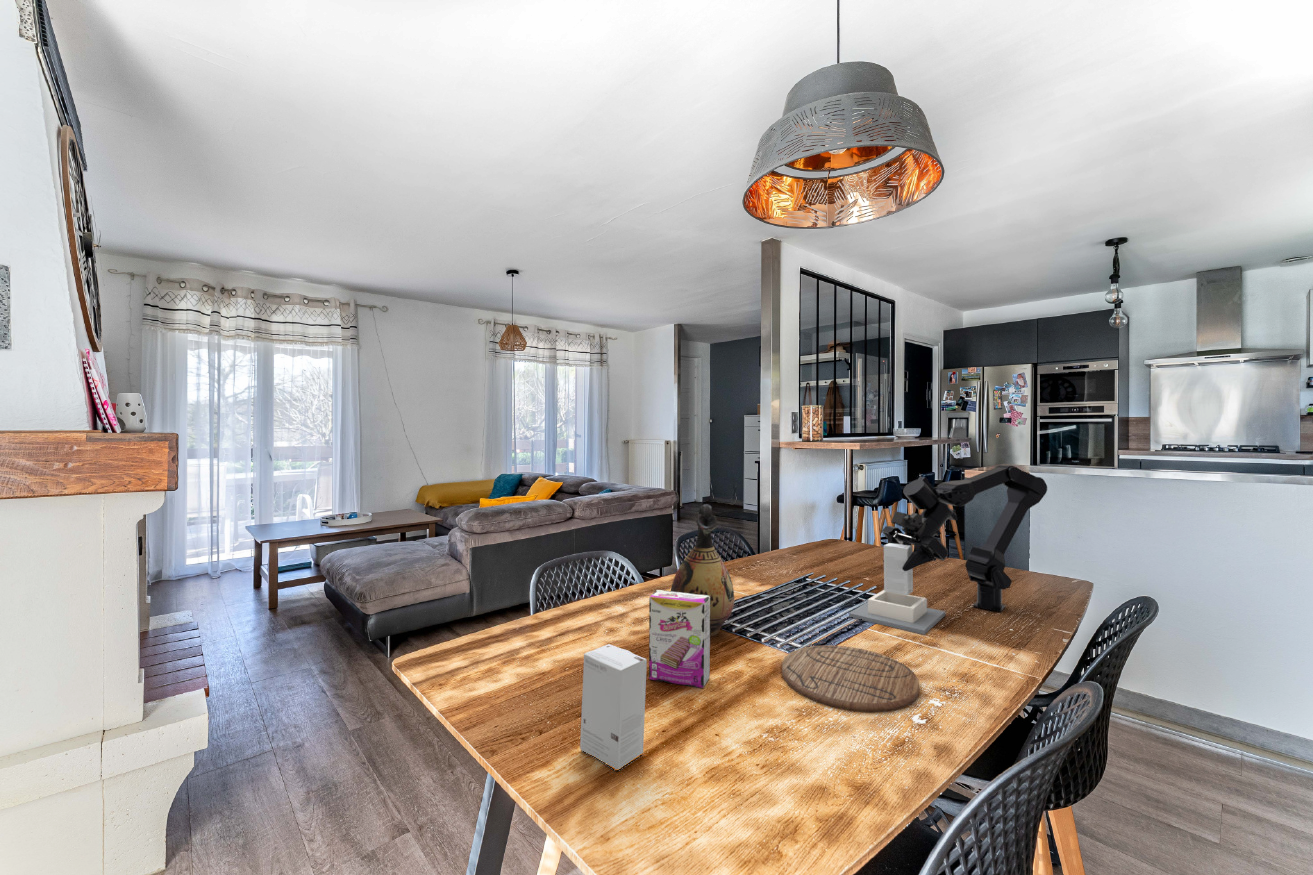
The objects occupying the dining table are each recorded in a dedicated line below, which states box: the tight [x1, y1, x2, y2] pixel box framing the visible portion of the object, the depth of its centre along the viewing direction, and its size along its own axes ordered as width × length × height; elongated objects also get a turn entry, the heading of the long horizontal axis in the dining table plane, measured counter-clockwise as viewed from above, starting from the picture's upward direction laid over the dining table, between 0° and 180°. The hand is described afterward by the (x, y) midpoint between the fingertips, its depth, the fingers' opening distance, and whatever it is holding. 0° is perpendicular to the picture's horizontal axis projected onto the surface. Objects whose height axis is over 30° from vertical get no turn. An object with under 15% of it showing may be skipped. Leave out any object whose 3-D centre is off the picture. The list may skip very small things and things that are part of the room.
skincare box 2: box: [883, 543, 914, 595], centre depth 140 cm, size 6×4×12 cm
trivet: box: [781, 644, 920, 713], centre depth 105 cm, size 25×25×2 cm
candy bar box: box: [648, 589, 711, 689], centre depth 105 cm, size 11×5×16 cm, turn 71°
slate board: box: [848, 601, 946, 636], centre depth 140 cm, size 18×18×1 cm
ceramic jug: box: [670, 503, 735, 637], centre depth 131 cm, size 17×15×30 cm
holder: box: [867, 589, 928, 623], centre depth 140 cm, size 11×11×4 cm
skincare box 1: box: [579, 643, 648, 769], centre depth 81 cm, size 8×6×15 cm
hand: (893, 566), depth 140 cm, fingers closed on skincare box 2, 7 cm apart
